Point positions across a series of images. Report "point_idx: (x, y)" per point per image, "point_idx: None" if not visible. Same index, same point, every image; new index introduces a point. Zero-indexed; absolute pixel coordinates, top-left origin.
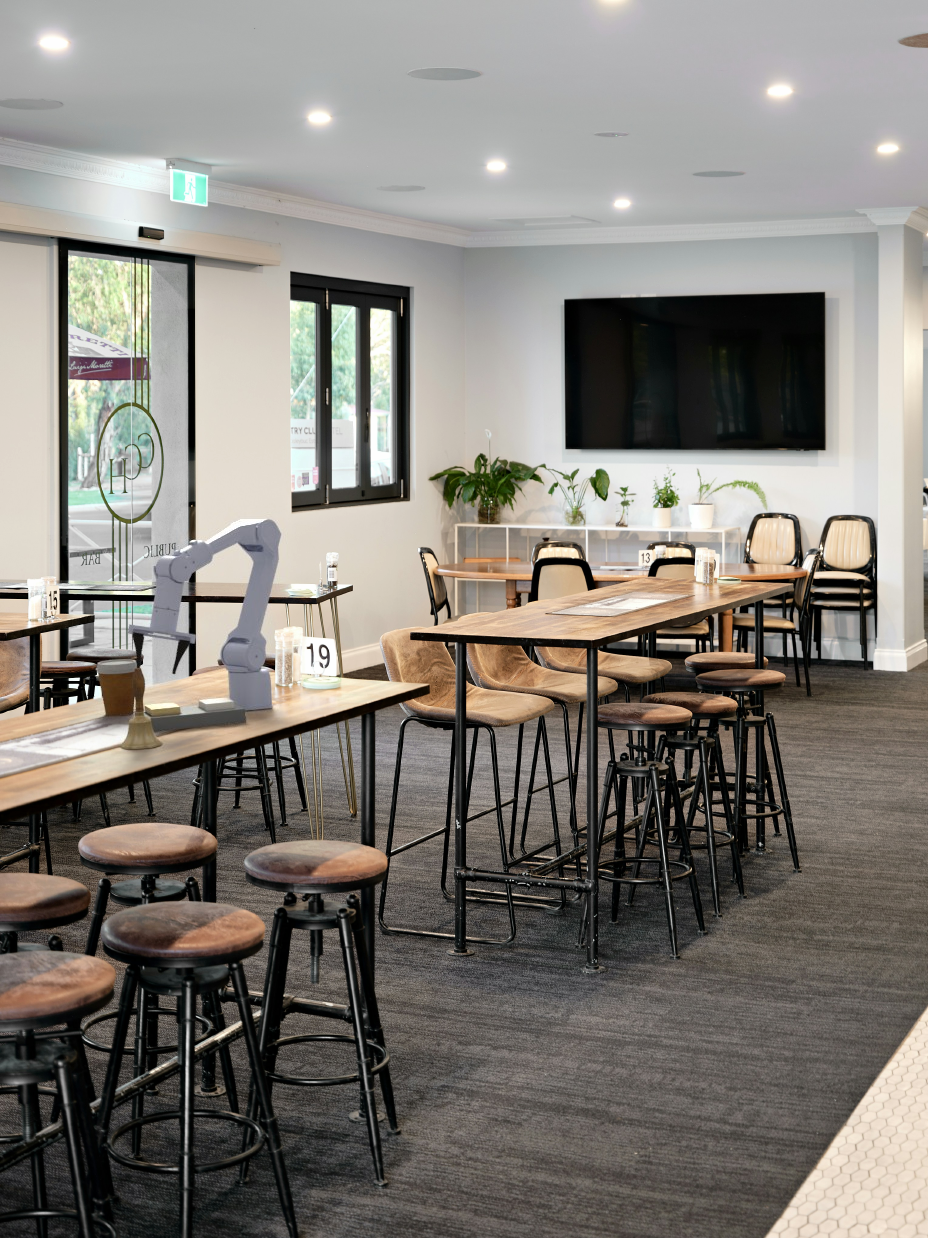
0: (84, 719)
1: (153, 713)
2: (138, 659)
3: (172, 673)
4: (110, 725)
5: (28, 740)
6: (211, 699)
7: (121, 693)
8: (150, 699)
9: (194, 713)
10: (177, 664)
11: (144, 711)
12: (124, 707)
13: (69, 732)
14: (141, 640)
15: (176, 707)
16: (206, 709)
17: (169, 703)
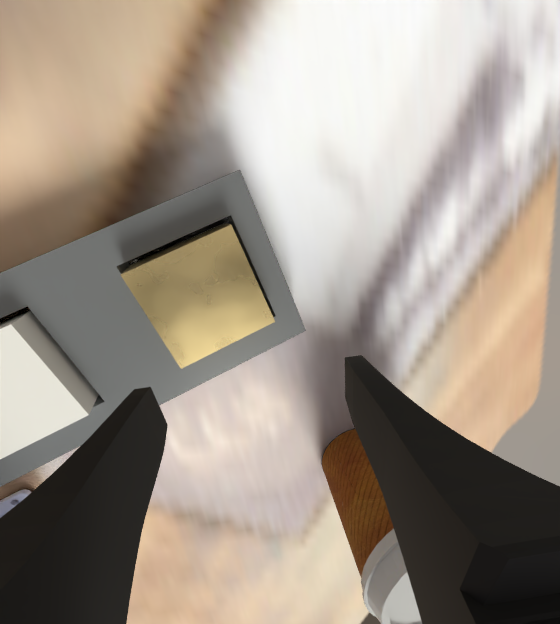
0: (416, 392)
1: (222, 227)
2: (381, 383)
3: (148, 387)
4: (354, 315)
5: (527, 130)
6: (31, 426)
7: (370, 471)
8: (309, 592)
9: (59, 261)
10: (96, 431)
11: (273, 324)
12: (345, 448)
13: (441, 230)
14: (477, 511)
15: (135, 268)
16: (21, 316)
17: (190, 351)
